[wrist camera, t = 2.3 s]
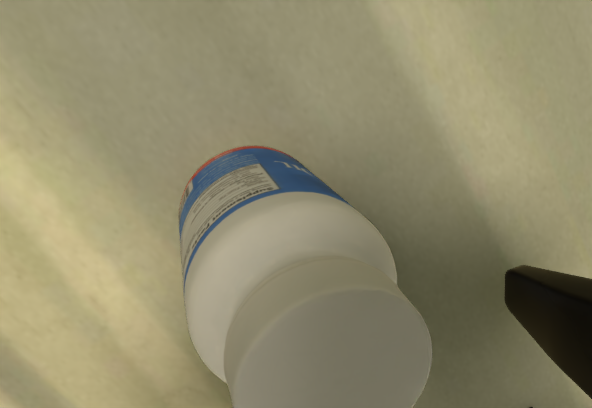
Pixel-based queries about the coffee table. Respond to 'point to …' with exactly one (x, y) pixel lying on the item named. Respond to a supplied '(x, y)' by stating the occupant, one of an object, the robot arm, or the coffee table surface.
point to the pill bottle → (294, 290)
